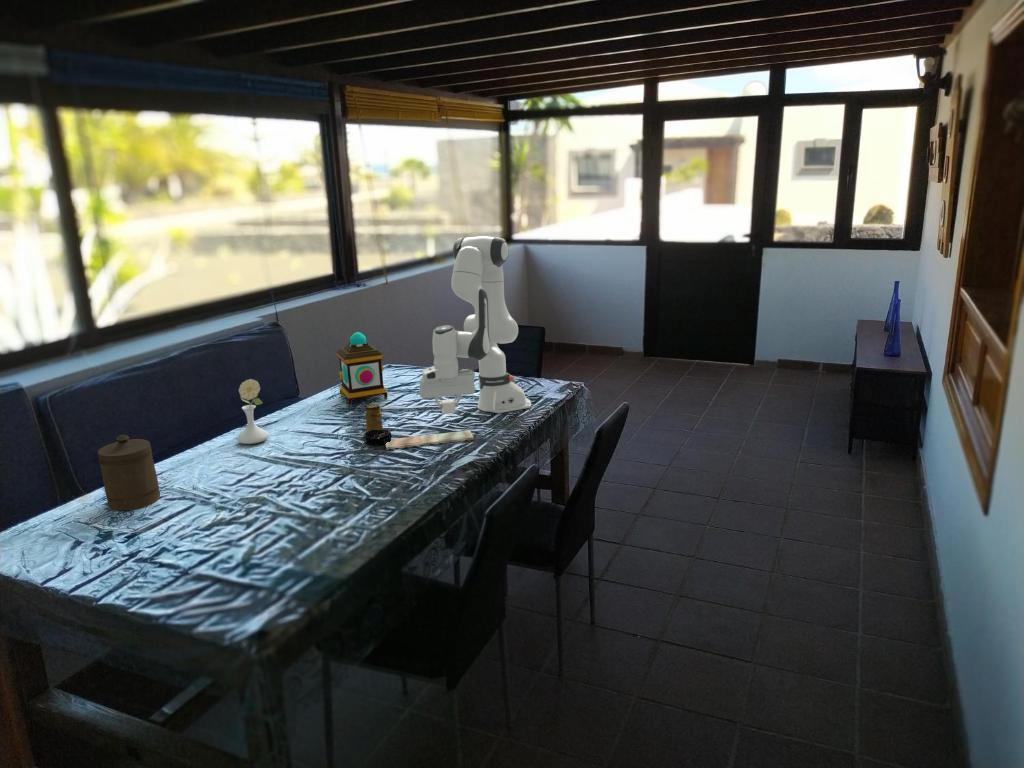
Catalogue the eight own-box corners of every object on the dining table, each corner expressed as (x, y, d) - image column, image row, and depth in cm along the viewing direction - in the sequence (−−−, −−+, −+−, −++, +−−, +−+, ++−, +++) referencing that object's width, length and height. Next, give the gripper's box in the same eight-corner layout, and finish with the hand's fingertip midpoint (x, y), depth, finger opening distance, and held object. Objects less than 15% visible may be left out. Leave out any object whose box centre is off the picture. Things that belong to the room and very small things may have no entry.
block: (453, 409, 276) (453, 399, 275) (455, 412, 272) (455, 402, 271) (441, 410, 275) (441, 400, 274) (443, 414, 271) (442, 403, 270)
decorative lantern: (336, 395, 336) (329, 330, 327) (379, 388, 344) (373, 325, 335) (346, 407, 318) (339, 339, 310) (391, 400, 326) (385, 333, 318)
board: (470, 432, 282) (470, 429, 282) (473, 439, 275) (473, 436, 274) (385, 442, 276) (384, 439, 276) (386, 449, 268) (386, 446, 268)
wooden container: (147, 487, 245) (134, 424, 238) (169, 498, 236) (156, 433, 229) (100, 503, 234) (86, 438, 228) (121, 515, 225) (107, 447, 218)
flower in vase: (231, 444, 280) (221, 380, 273) (254, 434, 290) (245, 372, 283) (256, 449, 274) (246, 384, 267) (278, 438, 284) (270, 376, 277)
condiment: (378, 431, 288) (376, 401, 285) (390, 436, 282) (387, 406, 278) (362, 435, 284) (359, 406, 280) (373, 441, 277) (370, 411, 274)
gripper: (473, 366, 274) (474, 402, 278) (417, 371, 270) (420, 407, 274) (475, 370, 268) (477, 406, 272) (419, 375, 264) (421, 412, 268)
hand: (448, 407), depth 273 cm, fingers closed on block, 4 cm apart
